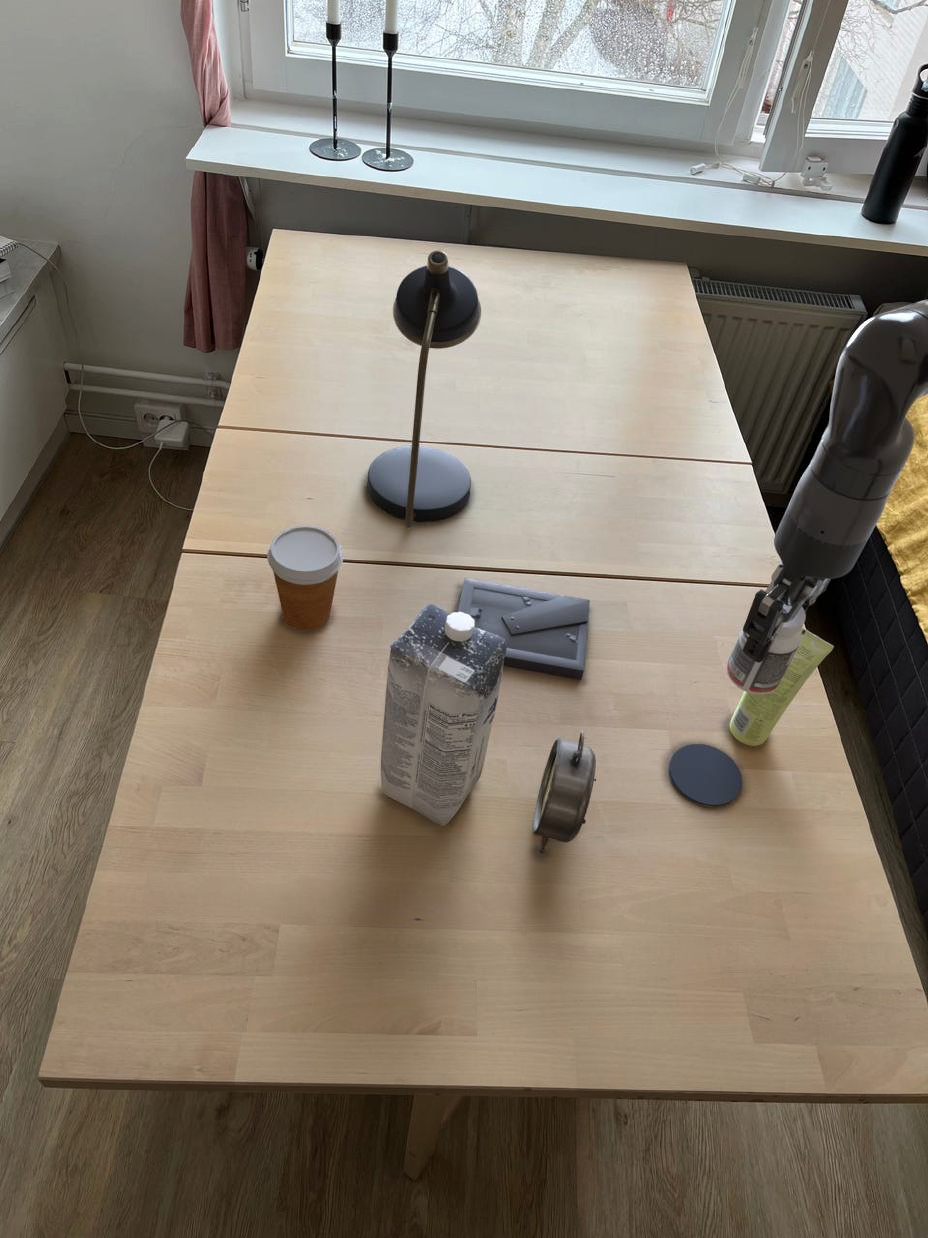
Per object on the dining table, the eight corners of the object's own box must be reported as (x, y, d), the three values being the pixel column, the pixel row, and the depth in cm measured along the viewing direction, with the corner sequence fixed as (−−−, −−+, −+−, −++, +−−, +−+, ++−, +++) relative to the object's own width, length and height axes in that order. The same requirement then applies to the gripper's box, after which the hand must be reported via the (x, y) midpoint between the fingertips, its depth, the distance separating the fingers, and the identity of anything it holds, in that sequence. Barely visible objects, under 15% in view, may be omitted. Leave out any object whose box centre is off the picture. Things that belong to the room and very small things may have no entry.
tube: (766, 717, 126) (822, 613, 112) (775, 748, 123) (834, 646, 108) (724, 715, 125) (775, 610, 111) (732, 746, 122) (786, 643, 108)
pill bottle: (783, 668, 104) (817, 603, 97) (772, 704, 100) (806, 640, 93) (731, 648, 105) (761, 583, 98) (719, 683, 101) (748, 618, 94)
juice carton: (448, 839, 109) (475, 686, 89) (369, 795, 111) (379, 637, 92) (485, 783, 114) (519, 628, 95) (410, 743, 117) (427, 584, 98)
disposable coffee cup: (256, 622, 128) (251, 555, 119) (295, 579, 134) (293, 513, 126) (318, 650, 126) (318, 584, 117) (355, 605, 132) (357, 539, 123)
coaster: (755, 778, 119) (756, 776, 119) (714, 820, 114) (715, 818, 114) (696, 733, 123) (697, 731, 123) (654, 772, 118) (655, 770, 118)
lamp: (475, 461, 157) (508, 230, 130) (461, 549, 142) (495, 309, 114) (377, 446, 157) (389, 211, 130) (352, 533, 142) (360, 288, 114)
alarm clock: (540, 778, 116) (564, 692, 104) (584, 789, 115) (614, 704, 103) (525, 857, 108) (550, 774, 96) (573, 869, 108) (603, 787, 96)
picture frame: (587, 609, 136) (463, 587, 137) (590, 598, 135) (464, 576, 135) (581, 680, 127) (448, 656, 127) (584, 669, 125) (450, 645, 126)
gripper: (828, 572, 81) (762, 699, 93) (905, 503, 89) (835, 628, 101) (753, 526, 84) (699, 654, 96) (833, 464, 92) (774, 589, 104)
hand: (769, 640), depth 99 cm, fingers closed on pill bottle, 5 cm apart
